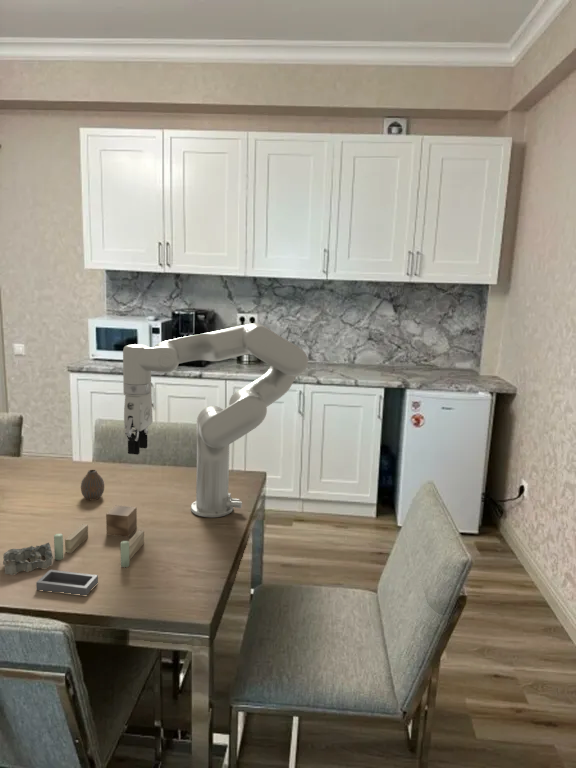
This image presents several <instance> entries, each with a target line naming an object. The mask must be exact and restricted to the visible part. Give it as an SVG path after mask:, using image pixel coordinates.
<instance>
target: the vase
mask: <svg viewBox="0 0 576 768" xmlns="http://www.w3.org/2000/svg"><path fill="white" fill-rule="evenodd" d="M80 492H81V494H82V496H83V497H84V499H86V500H88V501H95V500H98V499H100V498H101V497H102V496H103V494H104V492H105V481H104V479H103V477H102V476H101V475H100V474H99V473H98V471H97V470H96V469H90V470H88V471H87V473H86V475H85V476H84V477H83V478H82V481H81V483H80Z"/></svg>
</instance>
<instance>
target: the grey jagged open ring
mask: <svg viewBox="0 0 576 768" xmlns="http://www.w3.org/2000/svg"><path fill="white" fill-rule="evenodd" d="M52 552H53V551H52V547H51V544H50V542H46V543H44V544H41V545H36V546H34V545H31V546H29V547H22V548H10V549H9V550H6V551H5V552H4V553H3V554H2V555H3V562H2V565H4V574H5V575H11V576H15V575H17V574H18V573H20V572H27V573H29V572H28V571H30V572H32V571H34V570H35V569H42V568H43V569H42V570H45V569H48V568H49V567H50V565H51V566H53V558H54V557H53V553H52ZM43 556H44V557H45V560H43V559H42V557H43ZM28 558H30V559H28ZM28 560H30V562H29V561H28ZM48 566H49V567H48ZM37 567H38V568H37ZM34 568H35V569H34ZM23 570H25V571H23ZM19 571H20V572H19ZM17 572H18V573H17ZM14 574H15V575H14Z"/></svg>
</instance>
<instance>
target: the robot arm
mask: <svg viewBox="0 0 576 768" xmlns="http://www.w3.org/2000/svg"><path fill="white" fill-rule="evenodd" d="M250 354H251V355H252V356H254V357H256V358H257V359H258V360H261V361H262V362H264V363H265V364H267V365H269V368H268V370H267V371H266V372H264V373H263V374H262V375H261V376H259V377H258V378H257V379H255V380H254V381H252V382H250V383H249V384H246V385H245V386H243V387H242V388H240V389H239V390H237V391H235V392H233V394H232V395H231V396H230V398H229V402H228V405H229V406H226V407H225V408H222V407H220V406H215V405H210V406H207V407H205V408H203V409H202V410H201V411H200V412H199V414H198V416H197V418H196V424H195V425H196V427H195V428H196V429H195V430H196V431H195V432H196V487H195V488H196V489H195V490H196V491H195V493H196V494H195V496H196V497H195V498H196V499H195V501H193V502H192V503H191V505H190V511H191V512H192V513H193V514H194V515H196V516H199V517H203V518H220V517H224V516H228V515H229V514H230V513H232V512H233V510H234V508H236V509H237V508H238V509H242V507H243V501H241V499H240V498H233V497H231V494H232V493H231V492H229V481H230V480H229V477H230V476H229V475H230V474H229V473H230V471H229V470H230V445H231V444H232V443H234V442H236V441H238V440H239V439H240V438H242V437H244V436H245V435H247V434H248V433H250V432H252V431H253V430H254V429H257V428H258V426H260V425H261V424H262V423H263V421H264V420H265V419H266V417H267V412H268V410H267V409H268V407H269V406H270V405H272V404H274V403H275V402H276V401H278V400H279V399H281V398H282V397H283V396H284V395H286V393H287V392H288V391H289V390H290V388H291V387H292V385H293V383H294V382H295V379H296V376H299V375H301V374H302V373H304V372H305V370H306V369H307V367H308V355H307V353H306V352H305V351H304V350H303V349H302V348H301V347H299V346H298V345H295V344H294V343H293V342H290V341H289V340H287V339H285V338H283V337H282V336H281V335H279V334H277V333H275V332H274V331H272V330H271V329H269V328H268V327H267V326H265V325H263V324H260V323H257V322H253V323H251V322H250V323H246V324H242V325H238V326H233V327H228V328H224V329H220V330H219V329H218V330H214V331H210V332H204V333H200V334H194V335H193V334H192V335H188V336H183V337H182V336H181V337H177V338H173V339H168V340H164V341H160V342H158V343H157V344H155V346H152V347H150V345H149V346H148V344H147V345H146V344H140V343H137V344H136V343H134V344H128V345H125V346H124V347H123V350H122V364H123V365H122V370H123V374H122V376H123V378H122V381H123V384H122V385H123V395H124V396H125V397H124V407H123V409H124V412H123V427H124V429H125V430H124V434H125V436H126V440H127V453H128V454H129V455H137V456H138V455H140V451H141V450H140V449H147V448H148V434H149V433H148V432H149V430H148V427H150V426H151V425H152V424H153V403H152V372H156V373H162V374H164V373H165V374H168V373H171V372H173V371H175V370H176V369H177V368H178V367H179V364H183V363H188V362H193V361H208V362H220V361H225V360H228V359H233V358H236V357H241V356H246V355H250ZM133 428H134V429H133Z"/></svg>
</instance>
